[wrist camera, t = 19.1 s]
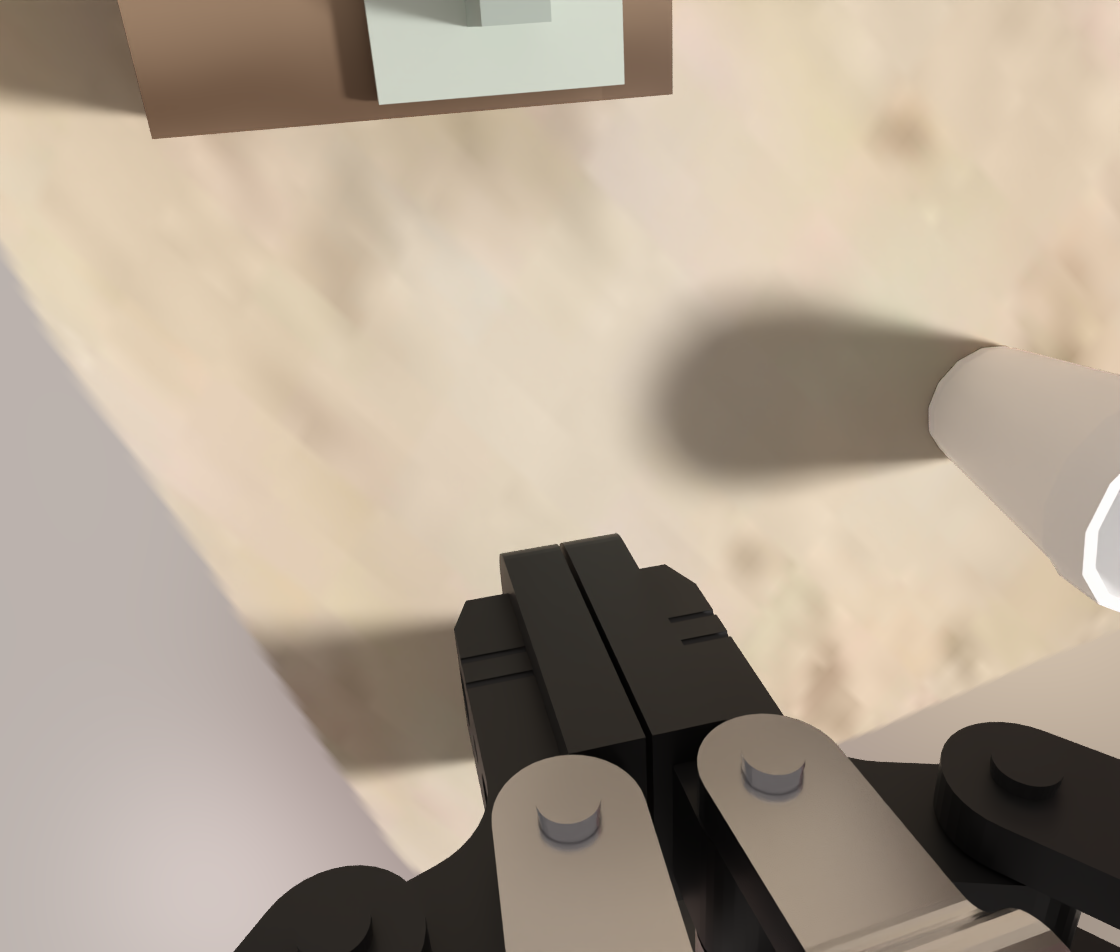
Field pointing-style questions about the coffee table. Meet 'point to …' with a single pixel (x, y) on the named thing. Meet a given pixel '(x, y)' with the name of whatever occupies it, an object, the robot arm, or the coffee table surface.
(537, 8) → the slide cover
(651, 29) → the brown square open box
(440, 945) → the robot arm
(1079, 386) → the foam cup
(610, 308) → the coffee table surface
